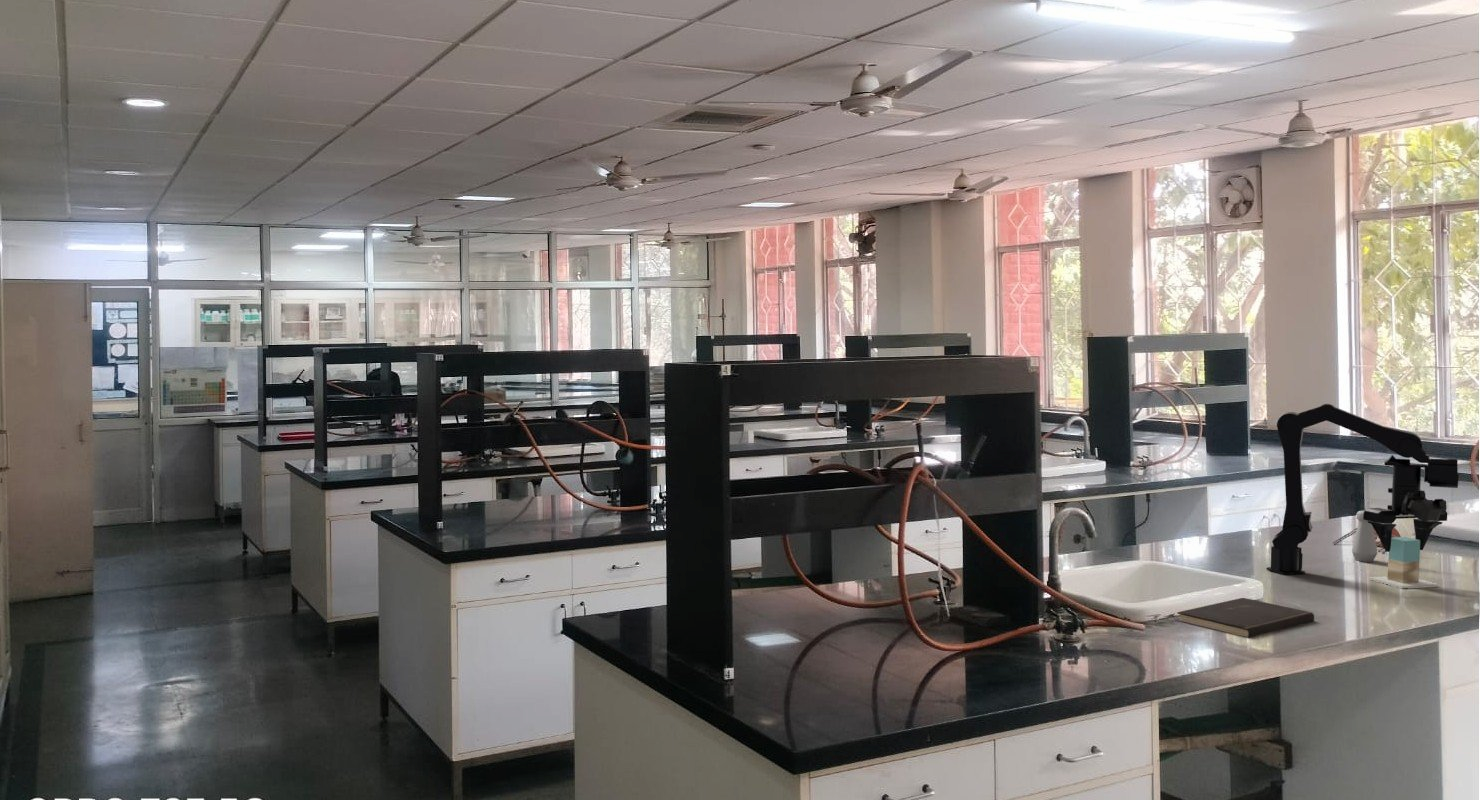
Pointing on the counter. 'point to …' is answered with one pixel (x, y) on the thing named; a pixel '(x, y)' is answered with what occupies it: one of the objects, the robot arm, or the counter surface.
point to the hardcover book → (1246, 617)
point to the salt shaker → (1364, 541)
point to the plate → (1403, 585)
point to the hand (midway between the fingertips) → (1404, 550)
